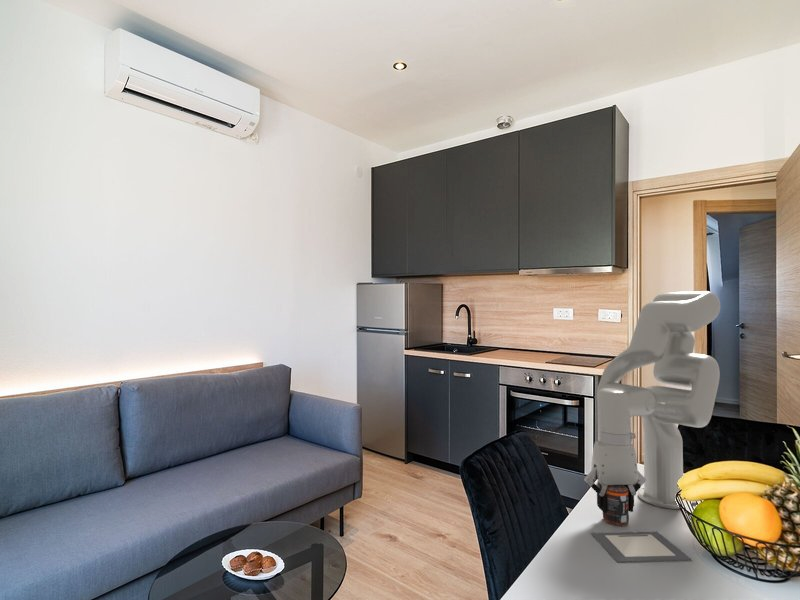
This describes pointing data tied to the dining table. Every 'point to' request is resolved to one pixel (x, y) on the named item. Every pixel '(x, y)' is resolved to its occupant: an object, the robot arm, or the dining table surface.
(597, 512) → the dining table surface
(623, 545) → the mat
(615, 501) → the supplement bottle
